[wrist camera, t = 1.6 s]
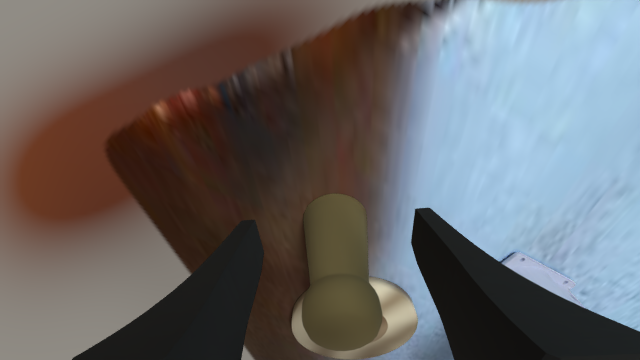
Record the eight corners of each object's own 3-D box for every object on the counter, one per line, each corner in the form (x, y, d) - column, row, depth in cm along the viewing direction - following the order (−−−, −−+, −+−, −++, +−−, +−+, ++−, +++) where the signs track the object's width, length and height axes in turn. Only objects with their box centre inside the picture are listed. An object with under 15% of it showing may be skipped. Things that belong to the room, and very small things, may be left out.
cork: (331, 252, 27) (336, 373, 18) (289, 217, 25) (271, 337, 16) (379, 221, 25) (414, 341, 16) (339, 181, 23) (351, 294, 14)
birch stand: (440, 302, 32) (445, 314, 30) (367, 357, 38) (368, 369, 37) (332, 258, 28) (333, 270, 26) (272, 328, 35) (270, 340, 33)
